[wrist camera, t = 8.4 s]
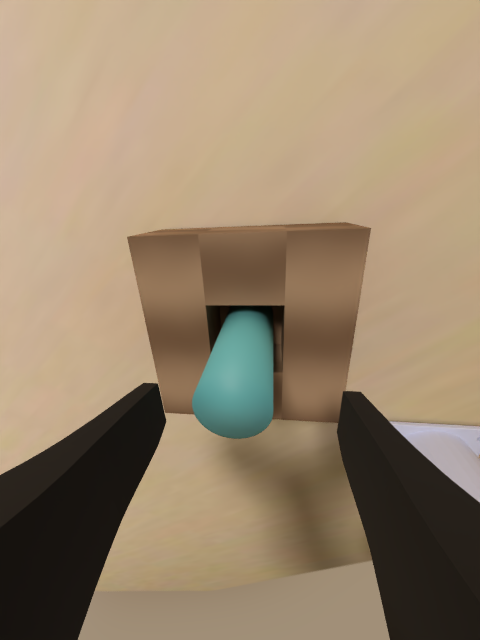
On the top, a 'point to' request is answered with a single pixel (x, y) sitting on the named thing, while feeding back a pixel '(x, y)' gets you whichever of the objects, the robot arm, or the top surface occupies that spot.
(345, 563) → the top surface
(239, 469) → the top surface
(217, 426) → the peg
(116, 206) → the top surface
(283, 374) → the socket block
